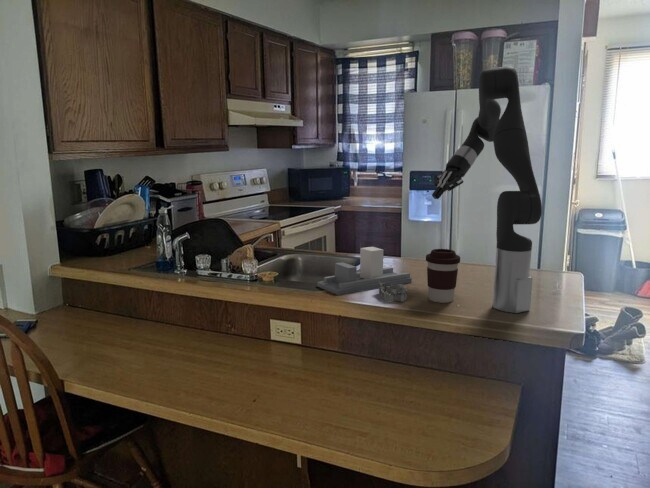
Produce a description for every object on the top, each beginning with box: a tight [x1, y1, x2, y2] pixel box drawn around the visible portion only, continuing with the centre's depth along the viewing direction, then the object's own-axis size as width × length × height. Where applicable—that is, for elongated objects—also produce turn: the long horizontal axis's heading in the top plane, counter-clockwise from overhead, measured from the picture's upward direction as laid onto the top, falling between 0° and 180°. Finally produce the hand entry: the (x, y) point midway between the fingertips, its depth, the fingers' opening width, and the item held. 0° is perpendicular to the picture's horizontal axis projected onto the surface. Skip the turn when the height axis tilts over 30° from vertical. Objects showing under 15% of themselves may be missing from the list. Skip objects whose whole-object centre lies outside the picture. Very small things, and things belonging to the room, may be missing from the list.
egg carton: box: [378, 281, 408, 303], centre depth 155 cm, size 11×8×4 cm
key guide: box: [316, 267, 413, 296], centre depth 169 cm, size 12×30×3 cm, turn 122°
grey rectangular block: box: [334, 262, 358, 283], centre depth 165 cm, size 8×4×6 cm, turn 32°
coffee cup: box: [425, 248, 461, 304], centre depth 151 cm, size 10×10×15 cm
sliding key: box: [359, 246, 384, 279], centre depth 170 cm, size 6×5×10 cm
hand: (434, 197), depth 177 cm, fingers closed
